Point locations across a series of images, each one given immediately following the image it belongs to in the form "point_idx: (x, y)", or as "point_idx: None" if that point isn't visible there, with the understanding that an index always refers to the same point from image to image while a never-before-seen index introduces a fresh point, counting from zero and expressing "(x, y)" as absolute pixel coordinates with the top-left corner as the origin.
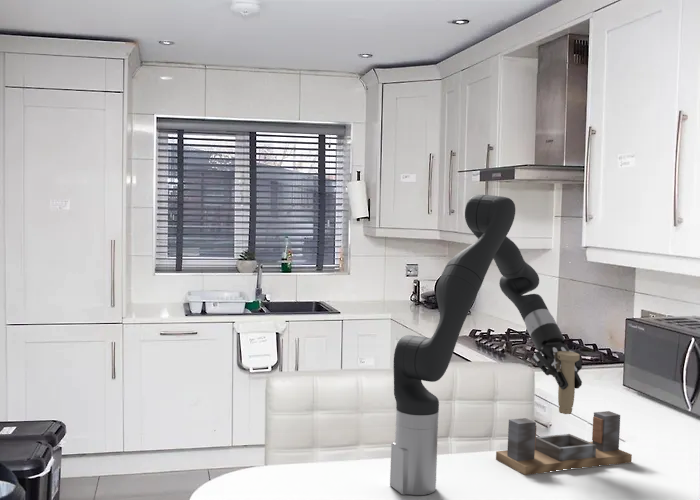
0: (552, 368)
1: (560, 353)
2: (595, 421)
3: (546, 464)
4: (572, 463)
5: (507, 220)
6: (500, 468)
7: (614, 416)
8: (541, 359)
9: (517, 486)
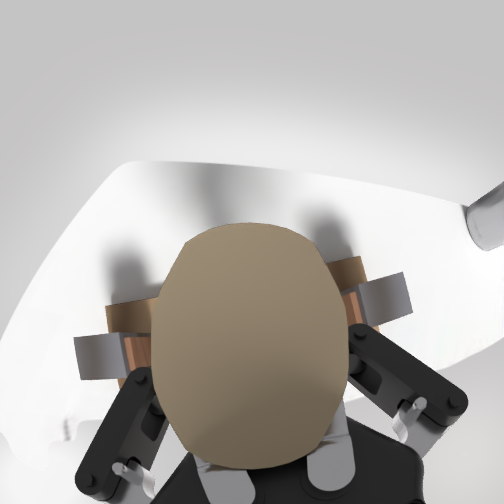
0: (357, 328)
1: (343, 332)
2: (137, 359)
3: None
4: None
5: None
6: None
7: (90, 336)
8: (428, 368)
9: (378, 213)
